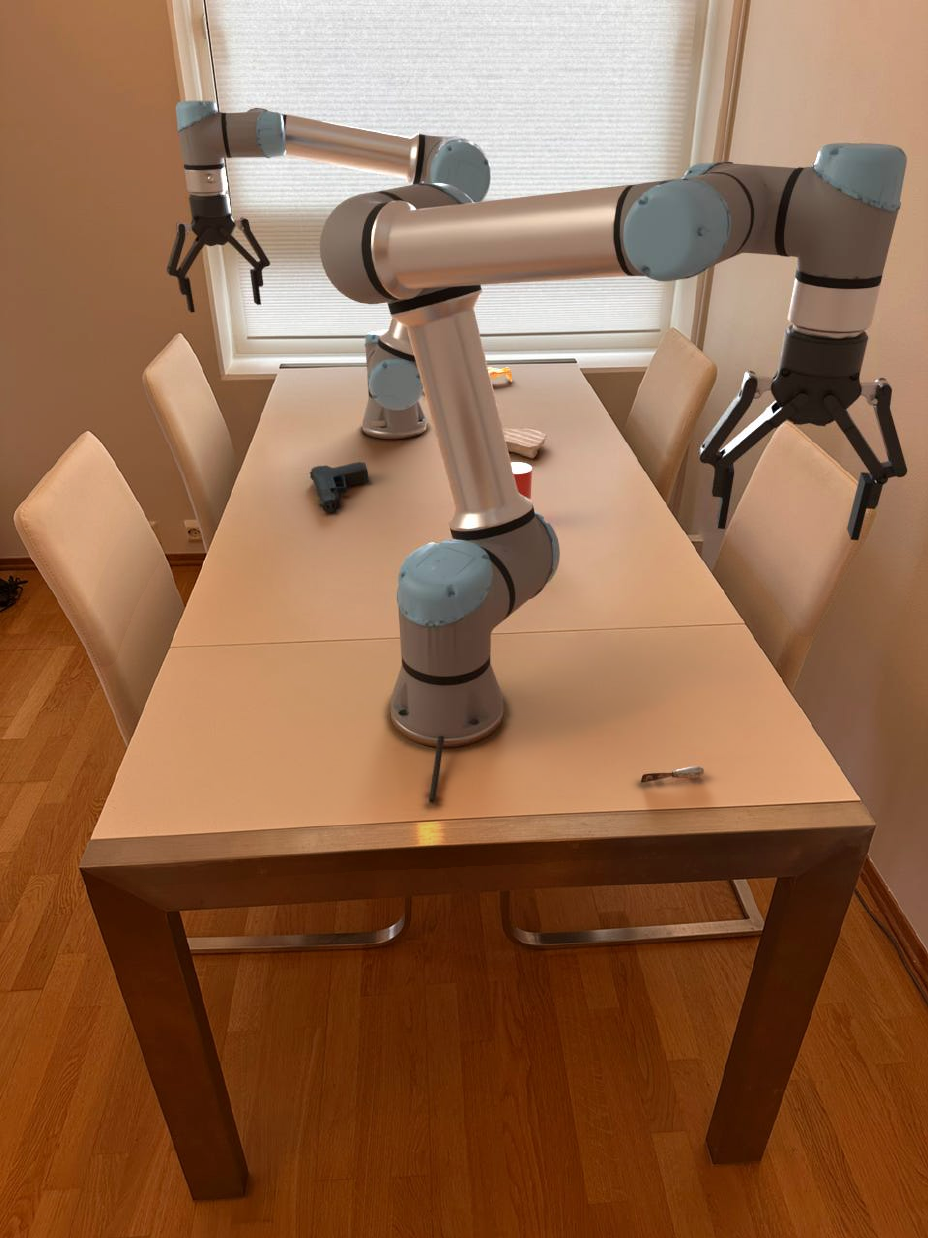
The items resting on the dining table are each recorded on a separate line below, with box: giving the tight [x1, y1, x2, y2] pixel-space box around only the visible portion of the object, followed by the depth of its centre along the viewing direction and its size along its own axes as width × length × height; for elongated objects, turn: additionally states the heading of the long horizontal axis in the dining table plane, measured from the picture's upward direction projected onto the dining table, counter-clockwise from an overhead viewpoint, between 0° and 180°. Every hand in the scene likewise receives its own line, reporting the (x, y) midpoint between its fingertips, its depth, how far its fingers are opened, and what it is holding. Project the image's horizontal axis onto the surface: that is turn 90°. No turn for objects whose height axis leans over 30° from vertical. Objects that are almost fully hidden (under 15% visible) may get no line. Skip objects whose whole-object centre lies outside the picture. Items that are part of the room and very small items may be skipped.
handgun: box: [309, 461, 369, 514], centre depth 182 cm, size 3×18×12 cm
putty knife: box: [640, 765, 705, 784], centre depth 109 cm, size 1×8×2 cm, turn 103°
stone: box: [502, 427, 547, 459], centre depth 203 cm, size 13×12×3 cm
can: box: [511, 461, 533, 501], centre depth 167 cm, size 6×6×11 cm
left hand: (225, 307), depth 183 cm, fingers open, 13 cm apart
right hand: (785, 529), depth 96 cm, fingers open, 13 cm apart
